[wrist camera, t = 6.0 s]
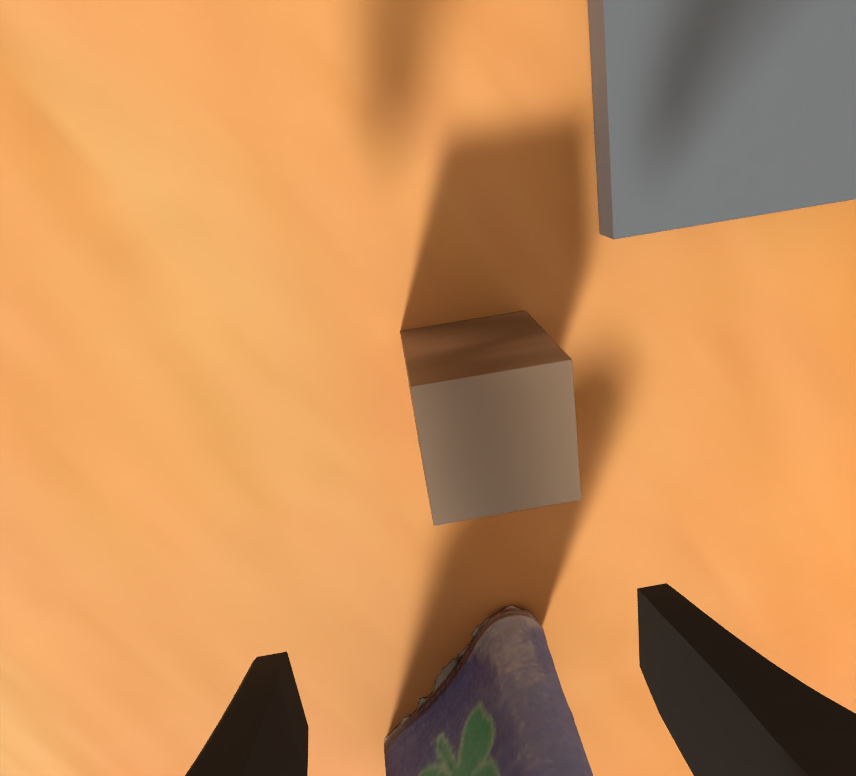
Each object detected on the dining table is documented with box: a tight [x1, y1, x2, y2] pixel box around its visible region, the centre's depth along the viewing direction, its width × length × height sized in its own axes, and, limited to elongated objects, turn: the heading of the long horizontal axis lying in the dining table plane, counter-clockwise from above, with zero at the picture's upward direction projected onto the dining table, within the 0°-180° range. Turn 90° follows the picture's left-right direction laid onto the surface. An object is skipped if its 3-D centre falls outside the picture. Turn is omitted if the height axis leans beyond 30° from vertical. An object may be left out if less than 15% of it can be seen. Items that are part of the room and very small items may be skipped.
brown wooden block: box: [400, 311, 581, 526], centre depth 19 cm, size 4×4×5 cm
